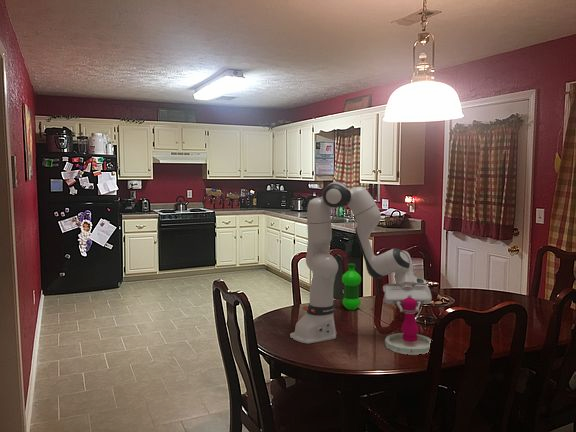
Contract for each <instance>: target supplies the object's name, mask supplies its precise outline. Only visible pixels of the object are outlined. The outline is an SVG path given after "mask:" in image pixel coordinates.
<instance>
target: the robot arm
mask: <svg viewBox="0 0 576 432" xmlns="http://www.w3.org/2000/svg"><path fill="white" fill-rule="evenodd" d="M346 206H347V207H348V208H349V209H350V211H351V212H352V214H353V216H354V217H355V220H356V227H355V236H356V238H357V239H356V240H357V242H358V245H359V248H360V251H361V254H362V257H363V260H364V262H365V268H366V270H367V273H368V275H369V276H370V277H372V278H374V279H377V280H381V279H382V278H384V277H386V276H388V275H390V274H392V273H394V275H395V276H394V280H395V283H385V284H384V285H383V286H382V291H383V293H384V298H383V299H384V302H385V303H386V304H387V305H389V304H390V305H393V304H394V305H395V304H396V306H397V307H398V309H399V312H400V313H405V312H404V307H403V300H404V299H405V298H408V295H409V294H410V295H412V297H411V298H414V299H415V300H416V302H417V306H416V308H415V309H416V313H419V312H420V307H421V304H422V305H425V304H426V305H427V304H431V302H432V299H433V298H432V297H433V296H432V292H431V289H430V288H429V286H428V285H427V280H426V279H423V278H419V277H416V276H415V273H414V265H413V261H412V257H411V255H410V253H409V252H408V251H407V250H401V249H400V248H392V249H390V250H387V251H385V252H383V253H381V254H377V255H375V253H374V251H373V250H374V249H373V248H372V244H371V242H370V235H371V233H372V232H373V231H374V229H376V227H377V226H378V225H379V223H380V221H381V219H382V213H381V211H380V209H379V206H378V205H377V204H376V201H375V199H374V197H372V195H371V193H370V192H369V191H368V190H367V189H366V188H365V187H364V186H355V187H353V188H349V187H347V185H346V184H345V183H343V182H341V181H333V182H330V183H329V184H328V185H326V186H325V187H324V189H323V191H322V195H321V197H314V198H312V199H310V200H309V202H308V204H307V213H306V222H307V223H306V225H307V226H306V227H307V245H306V246H307V248H306V256H305V264H306V266H307V268H308V269H309V270H310V271H311V272H312V273H311V274H312V276H311V282H310V283H311V284H310V286H309V303H308V305H307V306H306V305H303V306H302V310H303V311H306V313H305V314H304V315H303V316H301V318H299V320H298V321H297V322H296V323H295V326H294V327H295V329H294V332H290V333H289V337H290V338H291V339H292V338H293V339H292V340H294V341H297V342H299V343H303V344H309V345H310V344H312V343H313V344H314V343H319V342H326V341H330V340H335V339H336V338H337V334H338V333H337V330H336V324H335V318H334V317H335V316H334V315H335V314H334V312H335V304H334V286H335V281H336V277H337V273H338V271H339V263H338V262H337V259H336V258H335V257H334V256H333V255H332V254H330V247H331V241H332V239H333V233H332V232H333V231H332V230H333V229H332V211H333V208H335V209H336V208H342V207H346Z"/></svg>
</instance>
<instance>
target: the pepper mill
mask: <svg viewBox="0 0 576 432" xmlns="http://www.w3.org/2000/svg"><path fill="white" fill-rule="evenodd" d="M411 297H412V295H410V294H409V295H408V298H405V299H404V300H403V304H402V307H404V312H403V313H404V320H403V322H402V324H401V328H400V329H401V333H403V340H404V341H407V342H414V341H417V335H416V334H418V333H419V325H418V323H417V320H416V316H415V314H416V313H417V312H416V309H415V308H416V307H417V306H418V305H417V302H416V300H415V299H414V298H411Z"/></svg>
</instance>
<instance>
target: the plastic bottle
mask: <svg viewBox="0 0 576 432" xmlns="http://www.w3.org/2000/svg"><path fill="white" fill-rule="evenodd" d="M347 268H348V270H347V271H346V272H344V273H343V274H342V276H341V283H342V284H344V285H343V286H344V287H343V288H344V289H343V298H342V305H343V307H345V309H347V310H348V311H349V310H350V311H355V310H356V309H357V308H359V307H360V305H361V299H360V297H359V296H360V295H359V294H360V293H359V292H360V291H359V290H360V288H359V287H360V284H361V282H362V277H361V275H360V274H359V272H357V271H356V270H355V269H356V264H355V263H348V264H347Z"/></svg>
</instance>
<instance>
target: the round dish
mask: <svg viewBox="0 0 576 432" xmlns="http://www.w3.org/2000/svg"><path fill="white" fill-rule="evenodd" d="M416 335H417V341H414V342H407V341H404V340H403V332H396V333H391V334H389V335H387V336H386V337H385V339H384V345H385V348H387V349H388V350H389V351H391V352H394V353H397V354H401V355H406V356H407V354H408V356H418V355H419V354H422V355H427V354H429V353H430V352H429V349H430V343H431V340H432V339H431V338H430V337H429V336H426V335H422V334H418V333H417V334H416ZM428 352H429V353H428ZM426 353H427V354H426ZM419 356H420V355H419Z"/></svg>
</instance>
